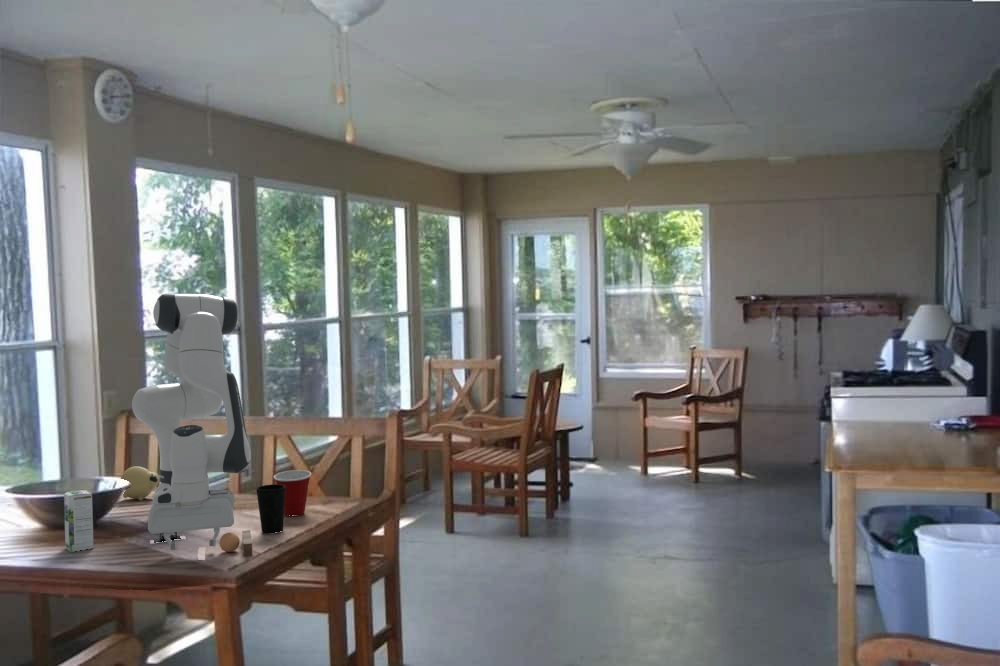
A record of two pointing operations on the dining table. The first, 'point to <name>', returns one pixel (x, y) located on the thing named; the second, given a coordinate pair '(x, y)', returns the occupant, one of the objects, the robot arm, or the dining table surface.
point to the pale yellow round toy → (140, 482)
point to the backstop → (247, 543)
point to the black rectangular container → (164, 538)
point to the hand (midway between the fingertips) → (192, 547)
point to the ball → (229, 542)
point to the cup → (271, 507)
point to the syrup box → (78, 520)
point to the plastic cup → (294, 490)
